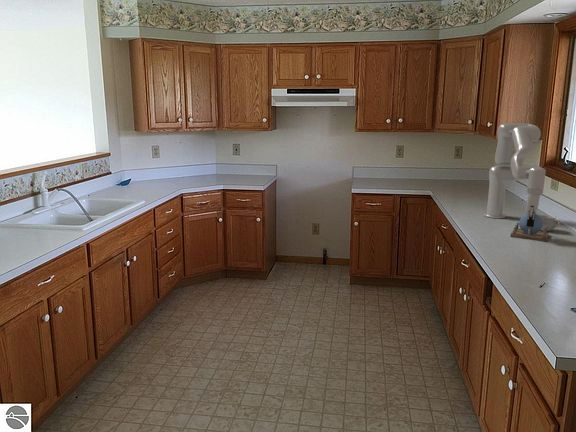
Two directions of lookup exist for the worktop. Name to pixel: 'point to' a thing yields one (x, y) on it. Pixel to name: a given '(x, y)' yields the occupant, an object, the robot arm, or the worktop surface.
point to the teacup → (549, 222)
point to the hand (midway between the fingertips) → (530, 224)
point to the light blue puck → (536, 228)
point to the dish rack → (540, 235)
